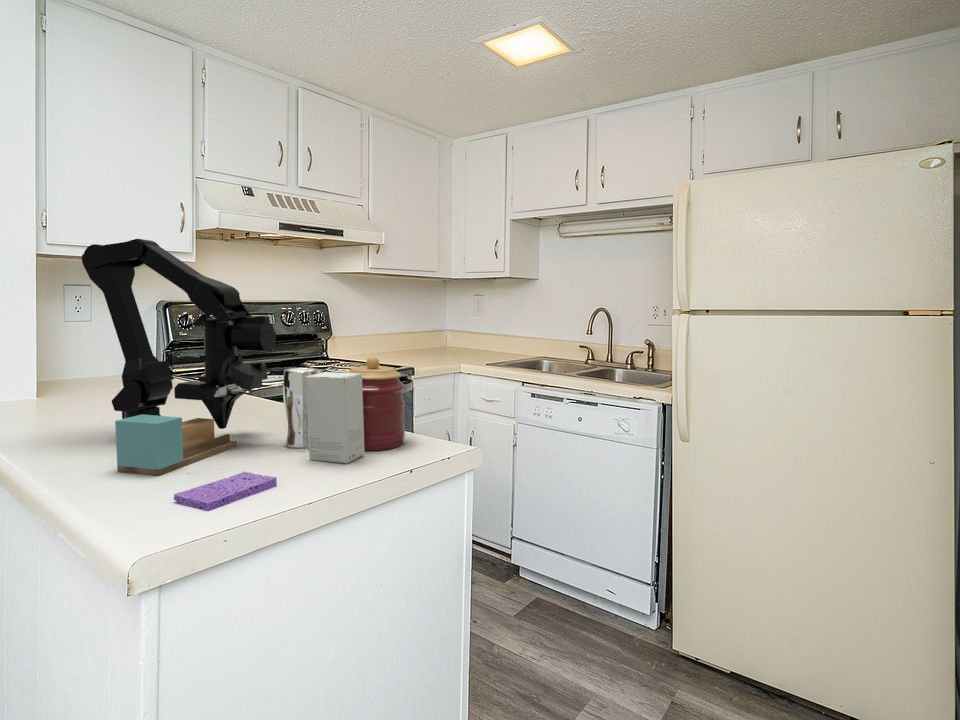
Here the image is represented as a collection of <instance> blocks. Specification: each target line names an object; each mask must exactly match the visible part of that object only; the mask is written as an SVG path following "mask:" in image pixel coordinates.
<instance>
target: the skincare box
mask: <svg viewBox="0 0 960 720" xmlns="http://www.w3.org/2000/svg"><path fill="white" fill-rule="evenodd" d="M306 393H307V415H308V437H309V447H308V455H309V456H308V457H309V460H310V461H319V462H329V463H331V462H332V463H341V464H349V463H351V462H353V461H355V460H357V459H359V458H362V457H363V456H364V455H365V451H366V450H364V420H363V390H362V374H361V373H346V372H335V371H334V372H333V371H325V372H324V371H323V372H319V374H315V375H310V376H306Z"/></svg>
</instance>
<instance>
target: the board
mask: <svg viewBox="0 0 960 720" xmlns="http://www.w3.org/2000/svg"><path fill="white" fill-rule="evenodd" d="M235 447H238V441H237V440H231V434H228V433H226V434H223V435H220V436H217V437H215V438H213V439H210V440H207V441H204V442H201V443H198V444H195V445H193V446H190V447H187V448H184V449H183V461H181V462H179V463H176V464H173V465H170V466H168V467H165V468H162V469H159V470H156V469H146V468H136V467H126V466H117V472H119V473H126V474H127V473H128V474H129V473H130V474H136V473H137V474H138V475H148V476H155V477H156V476H158V477H160V476H162V475H165V474H167V473H170V472H173V471H175V470H178V469H180V468H184V467H186V466H189V465H191V464H193V463H196V462H199V461H201V460H205V459H207V458H210V457H213V456H215V455H217V454H221V453H223V452H224V451H228V450H230V449H233V448H235Z"/></svg>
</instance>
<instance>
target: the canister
mask: <svg viewBox="0 0 960 720" xmlns="http://www.w3.org/2000/svg"><path fill="white" fill-rule="evenodd" d="M365 365H366V366H362V365H361V366H355V367H351V369H350V370H348V371H347V372H345V373H361V374H362V390H363V420H364V451H383V450H390V449H394V448H398V447H399V446H401V445H403V443H404V441H405V437H406V435H405V432H406V431H405V404H406V402H405V399H404V397H403V396H404V395H403V394H404V393H403V391H404V390H405V388H406V385H405V384H404V383H403V382H402V381H401V380H400V377H401V376H402V374H401V373H400V372H399V371H397V370H396V369H395V368H394V367H390V366H384V365H383V366H381V365H380V360H379V358H378V357H375V356H370V357H368V358H367V359H366V362H365Z"/></svg>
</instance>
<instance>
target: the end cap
mask: <svg viewBox="0 0 960 720" xmlns="http://www.w3.org/2000/svg"><path fill="white" fill-rule="evenodd" d="M114 422H115V423H114V425H115V445H116V464H117V466H126V467H136V468H146V469H156V470H159V469H162V468H165V467H168V466H170V465H173V464H176V463H179V462H181V461H183V435H182V422H183V417H179V416H167V415H166V416H165V415H161V416H156V415H143V414H142V415H138V416H133V417H129V418H125V419H122V418H121V419H117V420H115V421H114Z"/></svg>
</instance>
